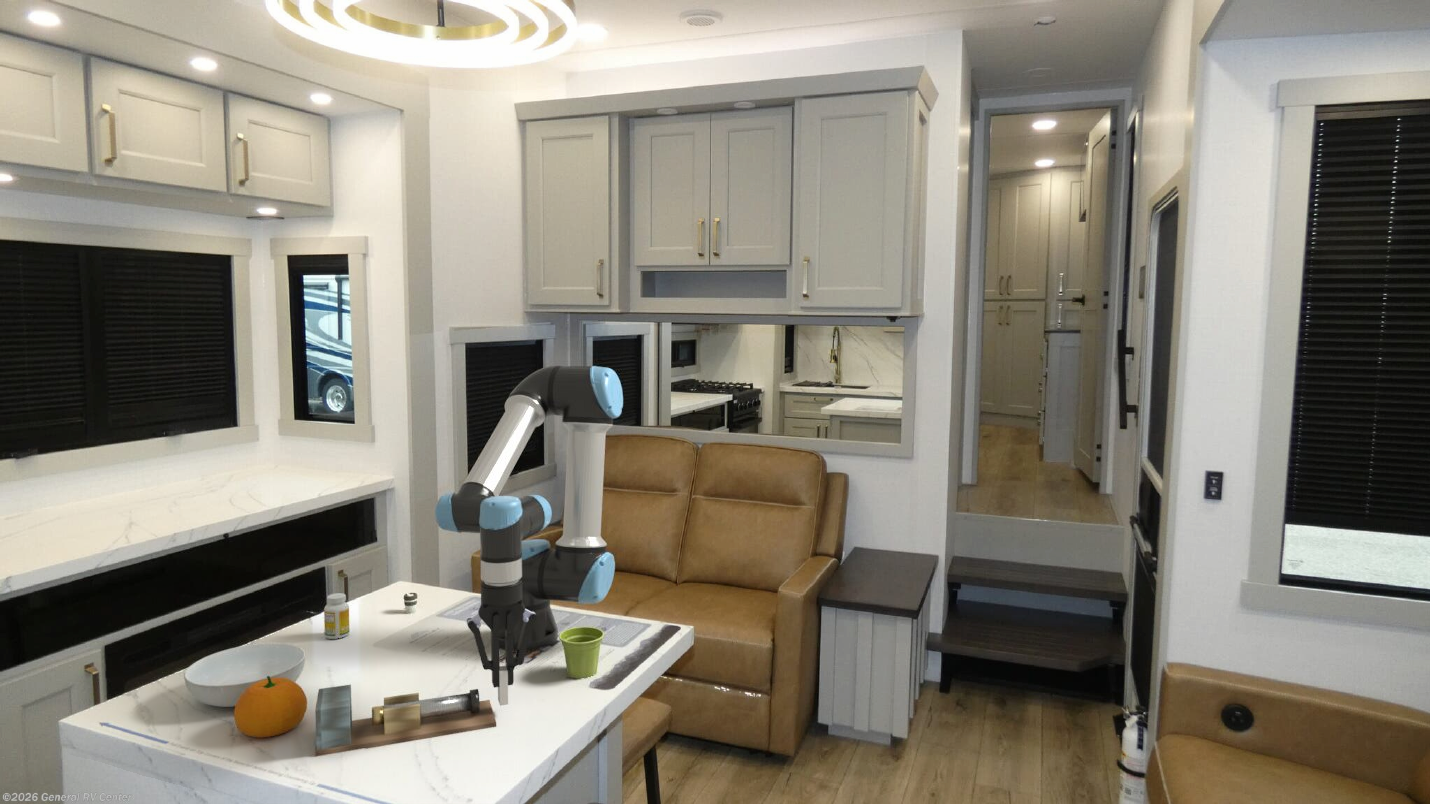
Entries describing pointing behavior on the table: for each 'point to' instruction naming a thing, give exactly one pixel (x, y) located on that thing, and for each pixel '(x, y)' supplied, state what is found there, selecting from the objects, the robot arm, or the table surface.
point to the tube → (435, 706)
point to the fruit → (270, 707)
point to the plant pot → (581, 650)
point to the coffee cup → (410, 602)
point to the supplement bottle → (336, 616)
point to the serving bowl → (241, 671)
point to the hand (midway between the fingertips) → (503, 701)
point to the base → (385, 722)
